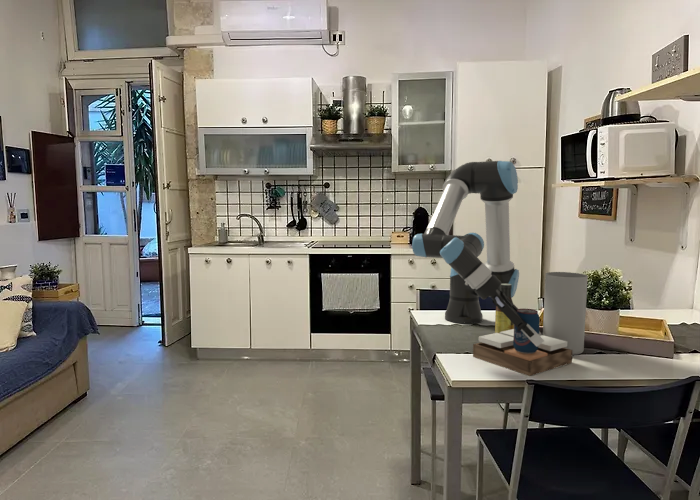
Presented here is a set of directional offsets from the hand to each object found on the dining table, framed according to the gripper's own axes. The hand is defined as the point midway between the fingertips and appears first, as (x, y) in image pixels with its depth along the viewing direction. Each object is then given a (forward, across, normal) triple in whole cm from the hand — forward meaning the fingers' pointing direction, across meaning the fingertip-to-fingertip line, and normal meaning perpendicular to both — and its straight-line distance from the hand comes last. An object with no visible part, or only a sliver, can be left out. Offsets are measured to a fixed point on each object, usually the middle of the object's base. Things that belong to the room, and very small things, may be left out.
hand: (539, 339), depth 144 cm
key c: (+4, -7, 0) cm, 9 cm away
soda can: (0, 0, -5) cm, 5 cm away
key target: (+1, 0, -6) cm, 6 cm away
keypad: (+3, -7, -9) cm, 12 cm away
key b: (-5, -6, -10) cm, 13 cm away
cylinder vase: (+13, -22, 0) cm, 25 cm away
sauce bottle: (0, -28, -12) cm, 30 cm away
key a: (-1, -14, -6) cm, 15 cm away
